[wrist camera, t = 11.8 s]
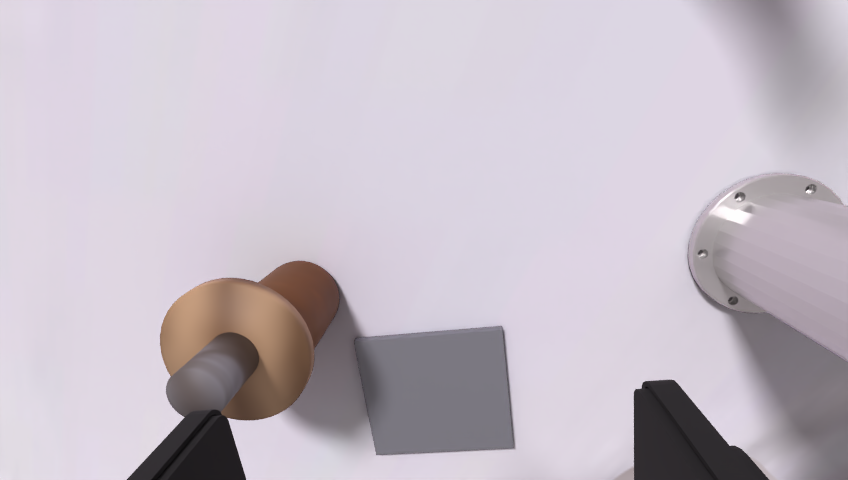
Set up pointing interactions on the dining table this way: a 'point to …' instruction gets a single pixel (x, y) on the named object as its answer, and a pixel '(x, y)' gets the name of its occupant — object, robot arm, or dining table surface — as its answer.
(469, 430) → the rubber mat
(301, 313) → the mug
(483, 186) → the dining table surface
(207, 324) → the copper lid
